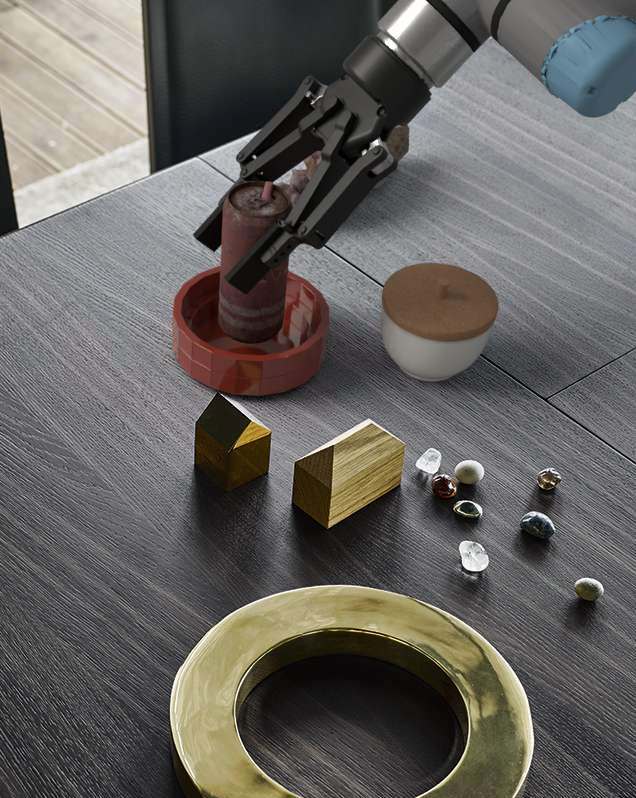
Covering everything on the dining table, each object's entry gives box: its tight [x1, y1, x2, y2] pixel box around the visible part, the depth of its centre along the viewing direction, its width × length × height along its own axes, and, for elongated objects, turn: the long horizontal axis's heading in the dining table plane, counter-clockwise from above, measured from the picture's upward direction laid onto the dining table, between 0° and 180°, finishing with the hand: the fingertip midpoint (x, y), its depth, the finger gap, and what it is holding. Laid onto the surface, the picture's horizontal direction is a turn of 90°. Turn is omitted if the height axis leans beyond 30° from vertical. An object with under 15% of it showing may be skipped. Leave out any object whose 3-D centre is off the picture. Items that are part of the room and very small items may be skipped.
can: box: [218, 181, 293, 344], centre depth 113 cm, size 6×6×14 cm
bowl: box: [171, 265, 331, 397], centre depth 119 cm, size 15×15×5 cm
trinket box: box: [379, 262, 500, 383], centre depth 117 cm, size 11×11×9 cm
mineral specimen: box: [275, 124, 411, 207], centre depth 138 cm, size 20×10×10 cm
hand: (219, 264), depth 111 cm, fingers closed on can, 6 cm apart
